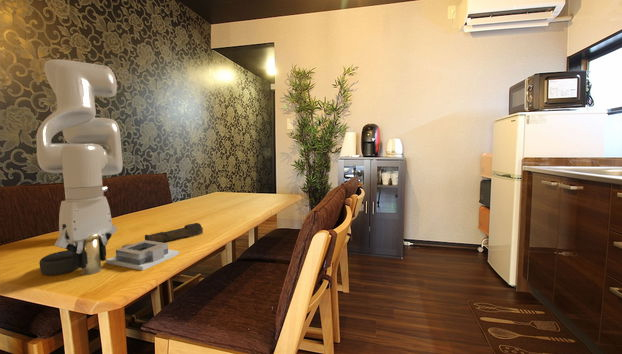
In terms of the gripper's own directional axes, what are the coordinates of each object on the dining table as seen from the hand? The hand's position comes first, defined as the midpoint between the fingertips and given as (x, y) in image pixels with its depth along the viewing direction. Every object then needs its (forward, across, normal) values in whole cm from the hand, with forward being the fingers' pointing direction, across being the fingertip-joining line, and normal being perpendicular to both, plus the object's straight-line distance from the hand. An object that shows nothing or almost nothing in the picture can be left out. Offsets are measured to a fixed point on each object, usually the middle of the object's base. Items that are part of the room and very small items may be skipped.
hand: (91, 262), depth 74 cm
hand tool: (+3, -28, -1) cm, 28 cm away
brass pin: (+2, 0, 0) cm, 2 cm away
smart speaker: (+3, +1, -9) cm, 10 cm away
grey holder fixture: (+1, -10, +5) cm, 11 cm away
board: (+2, -11, +5) cm, 12 cm away
